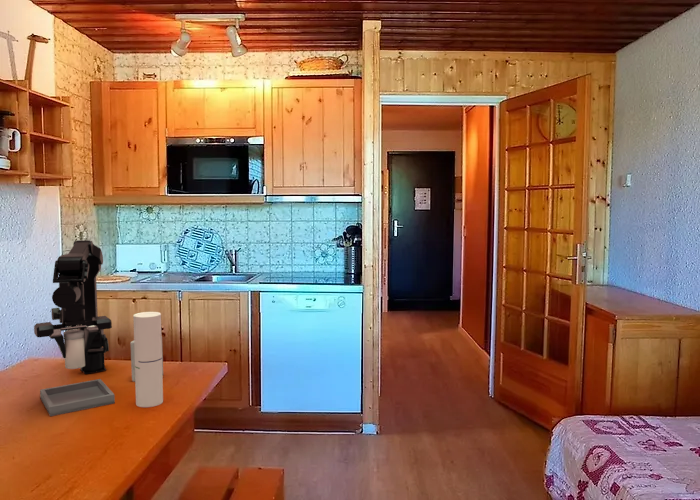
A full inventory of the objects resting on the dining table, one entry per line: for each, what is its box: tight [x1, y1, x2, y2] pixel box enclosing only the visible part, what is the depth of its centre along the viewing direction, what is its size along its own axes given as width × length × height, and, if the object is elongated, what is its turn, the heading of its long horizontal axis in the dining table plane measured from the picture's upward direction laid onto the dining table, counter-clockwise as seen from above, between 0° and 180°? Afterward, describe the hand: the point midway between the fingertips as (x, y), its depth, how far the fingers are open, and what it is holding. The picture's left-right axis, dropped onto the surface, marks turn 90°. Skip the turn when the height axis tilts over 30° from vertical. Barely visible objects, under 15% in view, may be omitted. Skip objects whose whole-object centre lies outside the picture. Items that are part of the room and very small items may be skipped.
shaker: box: [62, 329, 85, 370], centre depth 155 cm, size 5×5×10 cm
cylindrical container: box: [132, 311, 164, 408], centre depth 155 cm, size 7×7×25 cm
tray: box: [39, 378, 116, 417], centre depth 157 cm, size 16×16×2 cm
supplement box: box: [129, 340, 164, 382], centre depth 176 cm, size 7×7×13 cm
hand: (74, 356), depth 156 cm, fingers closed on shaker, 5 cm apart
